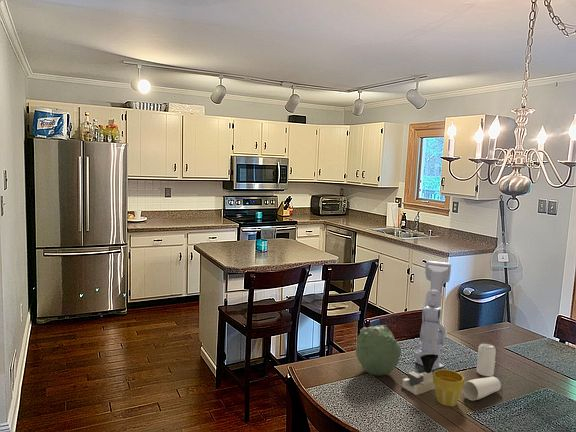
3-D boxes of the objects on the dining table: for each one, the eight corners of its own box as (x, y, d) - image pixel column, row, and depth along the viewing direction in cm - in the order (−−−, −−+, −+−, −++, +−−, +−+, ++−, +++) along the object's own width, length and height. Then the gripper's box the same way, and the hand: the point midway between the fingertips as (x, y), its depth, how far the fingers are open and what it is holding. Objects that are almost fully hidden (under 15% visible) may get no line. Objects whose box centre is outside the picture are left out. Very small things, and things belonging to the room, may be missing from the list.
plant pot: (434, 391, 165) (436, 366, 164) (464, 399, 160) (466, 373, 158) (428, 403, 156) (430, 377, 155) (459, 412, 151) (461, 385, 150)
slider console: (402, 386, 167) (402, 379, 167) (428, 377, 175) (429, 370, 175) (416, 395, 161) (417, 387, 161) (443, 385, 169) (444, 377, 169)
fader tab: (406, 383, 167) (407, 372, 166) (412, 381, 168) (413, 371, 168) (417, 389, 163) (417, 378, 162) (422, 387, 164) (423, 376, 164)
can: (495, 378, 177) (498, 349, 176) (478, 375, 178) (480, 347, 177) (491, 370, 183) (494, 343, 182) (474, 368, 185) (477, 341, 183)
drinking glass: (500, 396, 165) (475, 405, 157) (484, 385, 170) (459, 392, 162) (505, 381, 163) (481, 388, 155) (489, 370, 169) (465, 377, 160)
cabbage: (408, 376, 175) (411, 328, 173) (372, 388, 165) (376, 336, 163) (380, 361, 189) (383, 315, 186) (345, 370, 178) (348, 323, 176)
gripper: (425, 345, 160) (422, 380, 161) (451, 337, 168) (448, 372, 169) (410, 338, 166) (407, 372, 167) (436, 331, 173) (433, 364, 175)
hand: (427, 371), depth 169 cm, fingers closed
